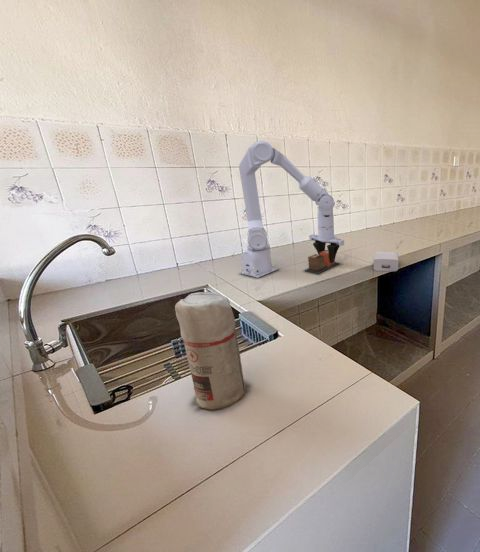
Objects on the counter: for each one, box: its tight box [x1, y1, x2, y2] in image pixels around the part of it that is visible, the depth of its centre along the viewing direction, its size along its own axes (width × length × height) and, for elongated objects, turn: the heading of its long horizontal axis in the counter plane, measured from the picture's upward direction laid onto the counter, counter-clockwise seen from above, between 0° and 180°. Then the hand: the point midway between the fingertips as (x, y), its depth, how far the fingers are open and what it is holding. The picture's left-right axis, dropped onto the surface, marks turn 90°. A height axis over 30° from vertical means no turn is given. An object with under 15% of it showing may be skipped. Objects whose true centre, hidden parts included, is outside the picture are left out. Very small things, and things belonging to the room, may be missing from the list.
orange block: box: [320, 249, 336, 267], centre depth 128 cm, size 5×4×5 cm
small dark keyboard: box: [304, 261, 340, 275], centre depth 126 cm, size 13×6×1 cm, turn 155°
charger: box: [373, 251, 399, 272], centre depth 131 cm, size 5×9×15 cm
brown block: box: [307, 253, 325, 272], centre depth 122 cm, size 4×4×5 cm
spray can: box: [174, 291, 247, 410], centre depth 58 cm, size 8×8×20 cm
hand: (327, 260), depth 128 cm, fingers closed on orange block, 4 cm apart
